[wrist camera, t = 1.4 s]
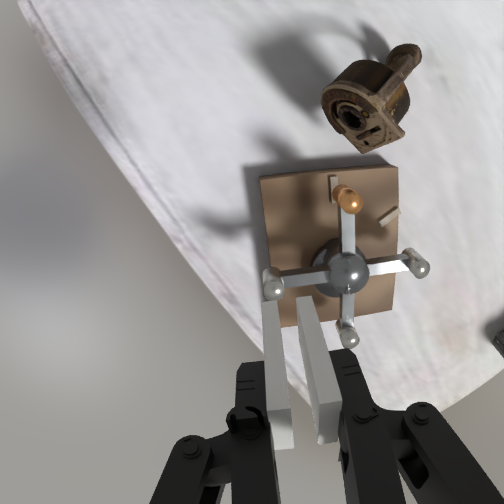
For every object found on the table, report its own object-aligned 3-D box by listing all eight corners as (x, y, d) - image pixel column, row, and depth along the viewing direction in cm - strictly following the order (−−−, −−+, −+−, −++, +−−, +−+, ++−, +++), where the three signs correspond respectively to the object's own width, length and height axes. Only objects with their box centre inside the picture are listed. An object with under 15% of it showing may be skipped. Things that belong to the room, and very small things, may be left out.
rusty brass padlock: (296, 119, 28) (317, 118, 19) (352, 21, 24) (390, -12, 15) (357, 155, 30) (399, 171, 21) (408, 59, 25) (462, 45, 16)
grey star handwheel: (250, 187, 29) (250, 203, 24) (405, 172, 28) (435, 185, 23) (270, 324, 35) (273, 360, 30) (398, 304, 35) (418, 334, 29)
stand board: (259, 176, 31) (259, 180, 29) (391, 164, 30) (401, 167, 28) (277, 318, 37) (278, 329, 35) (387, 300, 37) (394, 310, 35)
